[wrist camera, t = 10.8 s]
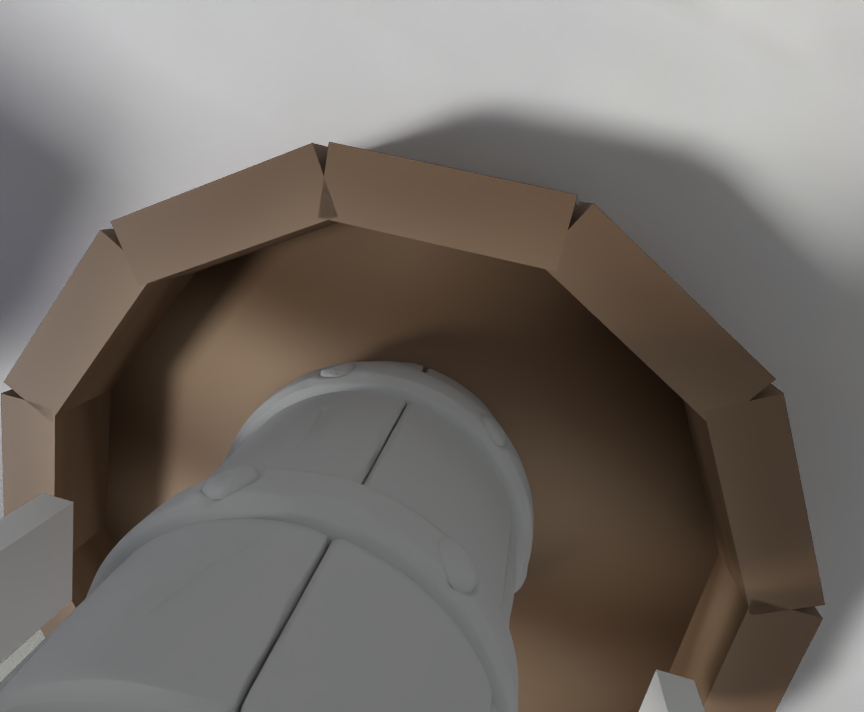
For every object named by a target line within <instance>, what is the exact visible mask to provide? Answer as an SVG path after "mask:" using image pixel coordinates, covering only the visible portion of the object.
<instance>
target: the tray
mask: <svg viewBox="0 0 864 712" xmlns="http://www.w3.org/2000/svg"><path fill="white" fill-rule="evenodd" d="M576 198H577V195H575V194H571V193H566V192H561V191H557V190H552V189H547V188H543V187H538V186H533V185H529V184H524V183H519V182H515V181H510V180H505V179H501V178H496V177H491V176H487V175H482V174H477V173H473V172H468V171H463V170H459V169H454V168H449V167H445V166H440V165H435V164H431V163H426V162H421V161H417V160H412V159H407V158H403V157H398V156H393V155H389V154H384V153H379V152H375V151H370V150H365V149H361V148H356V147H351V146H347V145H342V144H337V143H333V142H329V145H328V147H326V146H322V145H318V144H314V143H311V144H308V145H306V146H303V147H301V148H298V149H295V150H293V151H290V152H288V153H285V154H283V155H280V156H277V157H275V158H272V159H270V160H267V161H265V162H262V163H259V164H257V165H254V166H252V167H249V168H247V169H244V170H241V171H239V172H236V173H234V174H231V175H229V176H226V177H223V178H221V179H218V180H216V181H213V182H211V183H208V184H205V185H203V186H200V187H198V188H195V189H193V190H190V191H188V192H185V193H182V194H180V195H177V196H175V197H172V198H170V199H167V200H164V201H162V202H159V203H157V204H154V205H152V206H149V207H146V208H144V209H141V210H139V211H136V212H134V213H131V214H128V215H126V216H123V217H121V218H118V219H116V220H113V221H110V222H111V224H112V226H113V228H114V229H106V230H100V231H99V233H98V234H97V236H96V237H95V239H94V241H93V242H92V244H91V245H90V247H89V249H88V250H87V252H86V253H85V255H84V256H83V258H82V260H81V261H80V263H79V264H78V266H77V267H76V269H75V271H74V272H73V274H72V275H71V277H70V278H69V280H68V282H67V283H66V285H65V286H64V288H63V289H62V291H61V293H60V294H59V296H58V297H57V299H56V300H55V302H54V304H53V305H52V307H51V308H50V310H49V311H48V313H47V315H46V316H45V318H44V319H43V321H42V323H41V324H40V326H39V327H38V329H37V330H36V332H35V334H34V335H33V337H32V338H31V340H30V341H29V343H28V345H27V346H26V348H25V349H24V351H23V352H22V354H21V356H20V357H19V359H18V360H17V362H16V363H15V365H14V367H13V368H12V370H11V371H10V373H9V374H8V376H7V378H6V379H5V381H4V383H6V384H7V385H8V386H9V387H10V388H12V390H9V391H6V392H3V393H1V419H2V458H3V497H4V517H5V516H6V515H8V514H10V513H11V512H13V511H15V510H16V509H18V508H19V507H21V506H23V505H24V504H26V503H27V502H29V501H31V500H32V499H34V498H36V497H37V496H39V495H40V494H42V493H44V494H48V495H51V496H55V497H58V498H62V499H65V500H69V501H72V502H73V567H72V600H71V601H70V602H69V603H68V604H67V605H66V606H65V607H64V608H63V609H61V610H60V611H59V612H58V613H57V614H56V615H55V616H54V617H52V618H51V619H50V620H49V621H48V622H47V623H46V624H45V625H44V626H42V627H41V630H42V632H43V634H44V636H45V637H47V636H48V635H49V634H50V633H51V632H52V631H53V630H54V629H55V628H56V627H57V626H58V625H59V624H60V623H61V622H62V621H63V620H64V619H65V618H66V617H67V616H68V615H69V614H70V613H71V612H72V611H73V610H74V609H75V608H76V607H77V606H79V605H80V604H81V603H82V602H83V601H84V600H85V599H86V596H87V594H88V591H89V589H90V587H91V584H92V582H93V580H94V577H95V575H96V573H97V571H98V569H99V568H100V566H101V564H102V563H103V561H104V560H105V558H106V557H107V556H108V554H109V553H110V552H111V550H112V549H113V548H114V547H115V546H116V545H117V543H118V542H119V541H120V540H121V539H122V538H123V537H124V536H125V535H126V534H127V533H128V532H129V531H131V530H132V529H133V528H134V527H135V526H136V525H137V524H139V523H140V522H141V521H142V520H143V519H144V518H146V517H147V516H148V515H149V514H150V513H152V512H153V511H154V510H155V509H157V508H158V507H159V506H161V505H162V504H163V503H165V502H166V501H167V500H169V499H170V498H172V497H173V496H175V495H176V494H178V493H180V492H181V491H183V490H185V489H187V488H189V487H191V486H193V485H195V484H197V483H200V482H202V481H205V480H207V479H208V478H209V477H210V476H211V475H212V474H213V473H214V472H215V471H216V470H217V469H218V468H219V467H220V466H221V465H222V463H223V460H224V459H225V457H226V456H227V455H228V453H229V451H230V449H231V446H232V444H233V442H234V440H235V438H236V436H237V434H238V432H239V431H240V429H241V428H242V426H243V425H244V423H245V422H246V421H247V420H248V418H249V417H250V416H251V415H252V414H253V413H254V412H255V410H256V409H257V408H258V407H259V406H260V405H261V404H263V403H264V402H265V401H266V400H267V399H268V398H269V397H271V396H272V395H273V394H275V393H276V392H277V391H278V390H280V389H281V388H283V387H285V386H287V385H288V384H290V383H292V382H293V381H295V380H296V379H297V378H299V377H301V376H303V375H305V374H307V373H310V372H312V371H315V370H318V369H321V368H324V367H327V366H331V365H335V364H339V363H348V362H360V361H394V362H405V363H414V364H418V365H422V366H423V372H424V373H426V371H427V370H428V369H433V370H435V371H437V372H440V373H442V374H444V375H446V376H448V377H450V378H451V379H453V380H455V381H456V382H458V383H460V384H461V385H462V386H464V387H465V388H466V389H468V390H469V391H470V392H472V393H473V394H474V395H475V396H476V397H478V398H479V399H480V400H481V401H482V402H483V403H484V405H485V406H486V407H487V408H488V409H489V411H490V412H491V413H492V415H493V416H494V417H495V419H496V420H497V421H498V423H499V424H500V425H501V427H502V428H503V430H504V432H505V433H506V435H507V436H508V438H509V439H510V441H511V442H512V444H513V446H514V448H515V449H516V451H517V453H518V455H519V457H520V460H521V462H522V464H523V467H524V469H525V472H526V475H527V479H528V482H529V486H530V490H531V495H532V502H533V514H534V522H533V541H532V548H531V554H530V559H529V563H528V567H527V576H526V579H525V581H524V583H523V585H522V587H521V588H520V589H519V590H518V591H517V592H515V593H514V599H513V605H512V610H511V615H510V622H509V630H510V633H511V637H512V640H513V644H514V649H515V653H516V660H517V668H518V712H639V710H640V707H641V705H642V702H643V700H644V698H645V695H646V693H647V690H648V688H649V686H650V683H651V681H652V678H653V676H654V674H655V671H656V669H657V670H660V671H663V672H667V673H670V674H674V675H677V676H681V677H684V678H688V679H691V680H694V682H695V685H696V687H697V690H698V693H699V696H700V699H701V702H702V705H703V708H704V710H705V712H775V711H776V709H777V707H778V705H779V703H780V701H781V699H782V697H783V695H784V693H785V691H786V689H787V687H788V685H789V684H790V682H791V680H792V678H793V676H794V674H795V672H796V670H797V668H798V666H799V664H800V662H801V660H802V658H803V656H804V654H805V652H806V650H807V648H808V646H809V644H810V642H811V640H812V638H813V636H814V635H815V633H816V631H817V629H818V627H819V625H820V623H821V621H822V619H823V618H822V617H821V615H820V614H819V612H818V611H817V610H816V608H815V607H814V606H819V605H825V603H824V598H823V593H822V588H821V583H820V578H819V572H818V567H817V562H816V557H815V552H814V547H813V542H812V537H811V531H810V526H809V521H808V516H807V511H806V506H805V501H804V495H803V490H802V485H801V480H800V475H799V470H798V465H797V460H796V454H795V449H794V444H793V439H792V434H791V429H790V424H789V419H788V413H787V408H786V403H785V398H784V393H783V392H781V391H780V390H779V389H777V388H776V387H775V386H773V385H772V384H771V383H772V382H773V381H774V380H775V378H774V377H773V376H772V375H771V374H770V373H769V372H768V371H767V370H766V369H765V368H764V367H763V366H762V365H761V364H760V363H758V362H757V361H756V360H755V359H754V358H753V357H752V356H751V355H750V354H749V353H748V352H747V351H746V350H745V349H744V348H743V347H742V346H741V345H740V344H739V343H738V342H737V341H736V340H735V339H734V338H733V337H732V336H731V335H729V334H728V333H727V332H726V331H725V330H724V329H723V328H722V327H721V326H720V325H719V324H718V323H717V322H716V321H715V320H714V319H713V318H712V317H711V316H710V315H709V314H708V313H707V312H706V311H705V310H704V309H703V308H701V307H700V306H699V305H698V304H697V303H696V302H695V301H694V300H693V299H692V298H691V297H690V296H689V295H688V294H687V293H686V292H685V291H684V290H683V289H682V288H681V287H680V286H679V285H678V284H677V283H676V282H675V281H673V280H672V279H671V278H670V277H669V276H668V275H667V274H666V273H665V272H664V271H663V270H662V269H661V268H660V267H659V266H658V265H657V264H656V263H655V262H654V261H653V260H652V259H651V258H650V257H649V256H648V255H647V254H646V253H644V252H643V251H642V250H641V249H640V248H639V247H638V246H637V245H636V244H635V243H634V242H633V241H632V240H631V239H630V238H629V237H628V236H627V235H626V234H625V233H624V232H623V231H622V230H621V229H620V228H619V227H618V226H616V225H615V224H614V223H613V222H612V221H611V220H610V219H609V218H608V217H607V216H606V215H605V214H604V213H603V212H602V211H601V210H600V209H599V208H598V207H597V206H596V205H595V204H593V203H582V202H580V203H579V204H578V205H577V206H576V207H575V208H574V206H575V202H576Z"/></svg>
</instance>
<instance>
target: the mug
mask: <svg viewBox="0 0 864 712" xmlns="http://www.w3.org/2000/svg"><path fill="white" fill-rule="evenodd" d="M533 522H534V514H533V502H532V495H531V490H530V486H529V482H528V479H527V475H526V472H525V469H524V467H523V464H522V462H521V460H520V457H519V455H518V453H517V451H516V449H515V448H514V446H513V444H512V442H511V441H510V439H509V438H508V436H507V435H506V433H505V432H504V430H503V428H502V427H501V425H500V424H499V423H498V421H497V420H496V419H495V417H494V416H493V415H492V413H491V412H490V411H489V409H488V408H487V407H486V406H485V405H484V403H483V402H482V401H481V400H480V399H479V398H478V397H476V396H475V395H474V394H473V393H472V392H470V391H469V390H468V389H466V388H465V387H464V386H462V385H461V384H460V383H458V382H456V381H455V380H453V379H451V378H450V377H448V376H446V375H444V374H442V373H440V372H437V371H435V370H433V369H428V370H427V371H426V373H424V372H423V366H422V365H418V364H414V363H405V362H394V361H360V362H348V363H339V364H335V365H331V366H327V367H324V368H321V369H318V370H315V371H312V372H310V373H307V374H305V375H303V376H301V377H299V378H297V379H296V380H295V381H293V382H292V383H290V384H288V385H287V386H285V387H283V388H281V389H280V390H278V391H277V392H276V393H275V394H273V395H272V396H271V397H269V398H268V399H267V400H266V401H265V402H264V403H263V404H261V405H260V406H259V407H258V408H257V409H256V410H255V412H254V413H253V414H252V415H251V416H250V417H249V418H248V420H247V421H246V422H245V423H244V425H243V426H242V428H241V429H240V431H239V432H238V434H237V436H236V438H235V440H234V442H233V444H232V446H231V449H230V451H229V453H228V455H227V456H226V457H225V459H224V460H223V463H222V465H221V466H220V467H219V468H218V469H217V470H216V471H215V472H214V473H213V474H212V475H211V476H210V477H209V478H208V479H207V480H205V481H202V482H200V483H197V484H195V485H193V486H191V487H189V488H187V489H185V490H183V491H181V492H180V493H178V494H176V495H175V496H173V497H172V498H170V499H169V500H167V501H166V502H165V503H163V504H162V505H161V506H159V507H158V508H157V509H155V510H154V511H153V512H152V513H150V514H149V515H148V516H147V517H146V518H144V519H143V520H142V521H141V522H140V523H139V524H137V525H136V526H135V527H134V528H133V529H132V530H131V531H129V532H128V533H127V534H126V535H125V536H124V537H123V538H122V539H121V540H120V541H119V542H118V543H117V545H116V546H115V547H114V548H113V549H112V550H111V552H110V553H109V554H108V556H107V557H106V558H105V560H104V561H103V563H102V564H101V566H100V568H99V569H98V571H97V573H96V575H95V577H94V580H93V582H92V584H91V587H90V589H89V591H88V594H87V596H86V599H85V600H84V601H83V602H82V603H81V604H80V605H79V606H77V607H76V608H75V609H74V610H73V611H72V612H71V613H70V614H69V615H68V616H67V617H66V618H65V619H64V620H63V621H62V622H61V623H60V624H59V625H58V626H57V627H56V628H55V629H54V630H53V631H52V632H51V633H50V634H49V635H48V636H47V637H46V638H45V639H44V640H43V641H42V642H41V643H40V644H39V645H38V646H37V647H36V648H35V649H34V650H33V651H32V652H31V653H30V654H29V655H28V656H27V657H26V658H25V659H24V660H23V661H22V662H21V663H20V664H19V665H18V666H17V667H16V668H15V669H13V670H12V671H11V672H10V673H9V674H8V675H7V676H6V677H5V678H4V679H3V680H2V681H1V683H0V712H518V668H517V660H516V653H515V649H514V644H513V640H512V637H511V633H510V630H509V622H510V615H511V610H512V605H513V599H514V593H515V592H517V591H518V590H519V589H520V588H521V587H522V585H523V583H524V581H525V579H526V576H527V567H528V563H529V559H530V554H531V548H532V541H533Z"/></svg>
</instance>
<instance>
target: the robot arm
mask: <svg viewBox="0 0 864 712" xmlns="http://www.w3.org/2000/svg"><path fill="white" fill-rule="evenodd" d="M72 567H73V502H72V501H69V500H65V499H62V498H58V497H55V496H51V495H48V494H44V493H42V494H40V495H39V496H37V497H36V498H34V499H32V500H31V501H29V502H27V503H26V504H24V505H23V506H21V507H19V508H18V509H16V510H15V511H13V512H11V513H10V514H8V515H6V516H5V517H3V518H2V519H0V664H1V663H2V662H3V661H4V660H6V659H7V658H8V657H9V656H10V655H11V654H12V653H13V652H15V651H16V650H17V649H18V648H19V647H20V646H21V645H22V644H23V643H25V642H26V641H27V640H28V639H29V638H30V637H31V636H32V635H33V634H35V633H36V632H37V631H38V630H39V629H40V628H41V627H42V626H44V625H45V624H46V623H47V622H48V621H49V620H50V619H51V618H52V617H54V616H55V615H56V614H57V613H58V612H59V611H60V610H61V609H63V608H64V607H65V606H66V605H67V604H68V603H69V602H70V601H71V600H72ZM639 712H705V710H704V708H703V705H702V702H701V699H700V696H699V693H698V690H697V687H696V685H695V682H694V680H691V679H688V678H684V677H681V676H677V675H674V674H670V673H667V672H663V671H660V670H657V669H656V671H655V674H654V676H653V678H652V681H651V683H650V686H649V688H648V690H647V693H646V695H645V698H644V700H643V702H642V705H641V707H640V710H639Z"/></svg>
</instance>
